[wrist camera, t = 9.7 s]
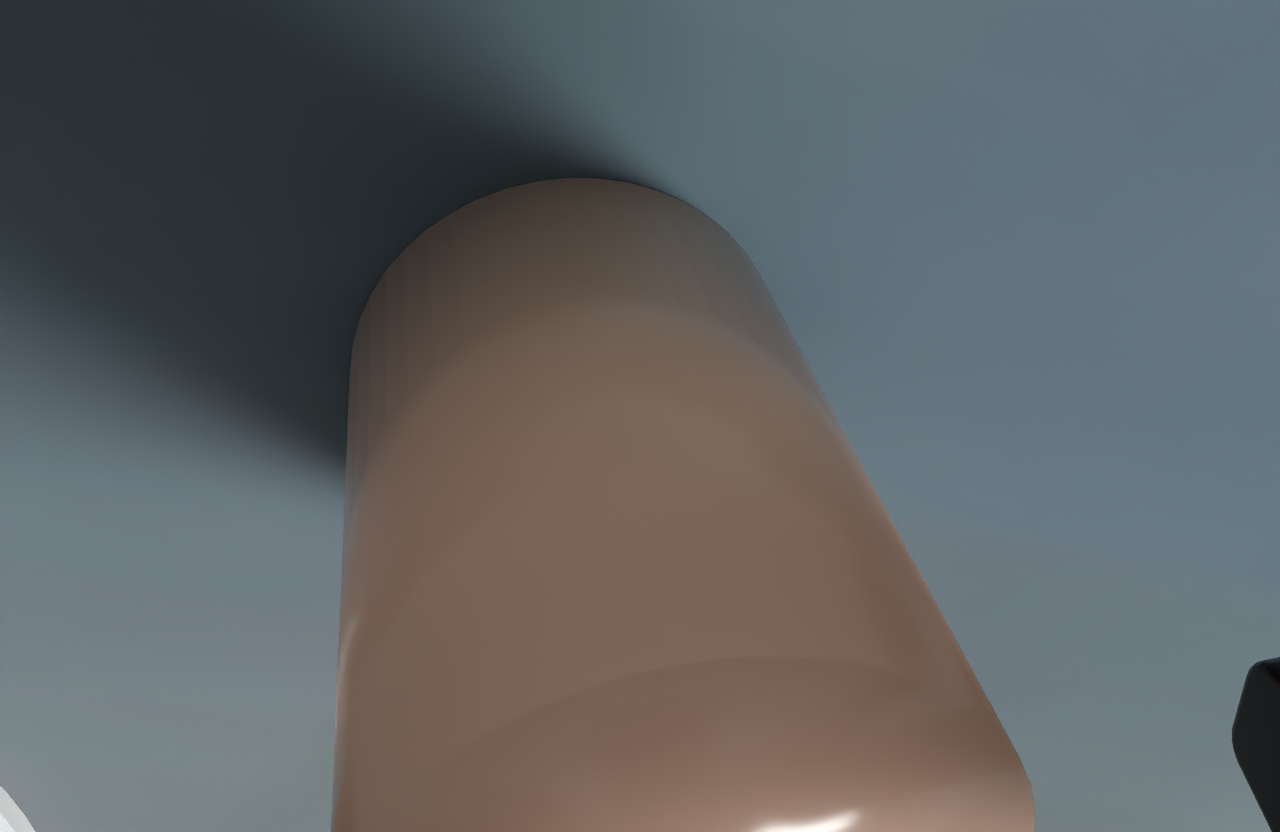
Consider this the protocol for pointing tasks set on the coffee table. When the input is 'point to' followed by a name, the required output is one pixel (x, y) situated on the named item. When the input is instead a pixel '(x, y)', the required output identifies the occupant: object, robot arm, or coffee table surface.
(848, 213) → the coffee table surface
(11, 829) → the panda figurine
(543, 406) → the cylinder
